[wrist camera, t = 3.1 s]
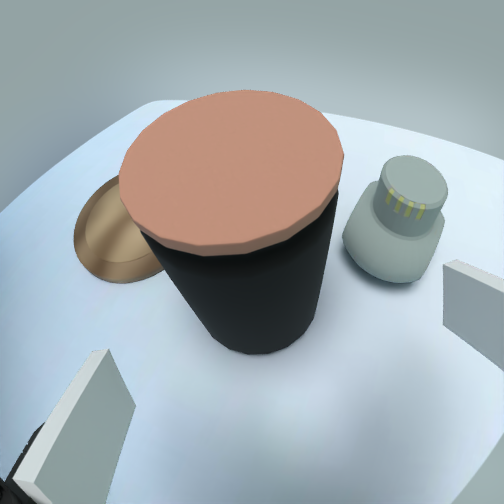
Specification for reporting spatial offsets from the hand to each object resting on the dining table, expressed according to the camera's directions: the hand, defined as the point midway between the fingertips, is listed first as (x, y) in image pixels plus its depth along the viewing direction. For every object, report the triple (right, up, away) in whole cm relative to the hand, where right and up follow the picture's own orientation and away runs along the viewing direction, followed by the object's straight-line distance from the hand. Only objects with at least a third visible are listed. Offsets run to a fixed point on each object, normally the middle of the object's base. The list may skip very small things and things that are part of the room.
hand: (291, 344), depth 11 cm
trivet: (-15, +7, +25) cm, 30 cm away
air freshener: (+13, +4, +20) cm, 24 cm away
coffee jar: (-1, -1, +19) cm, 19 cm away
